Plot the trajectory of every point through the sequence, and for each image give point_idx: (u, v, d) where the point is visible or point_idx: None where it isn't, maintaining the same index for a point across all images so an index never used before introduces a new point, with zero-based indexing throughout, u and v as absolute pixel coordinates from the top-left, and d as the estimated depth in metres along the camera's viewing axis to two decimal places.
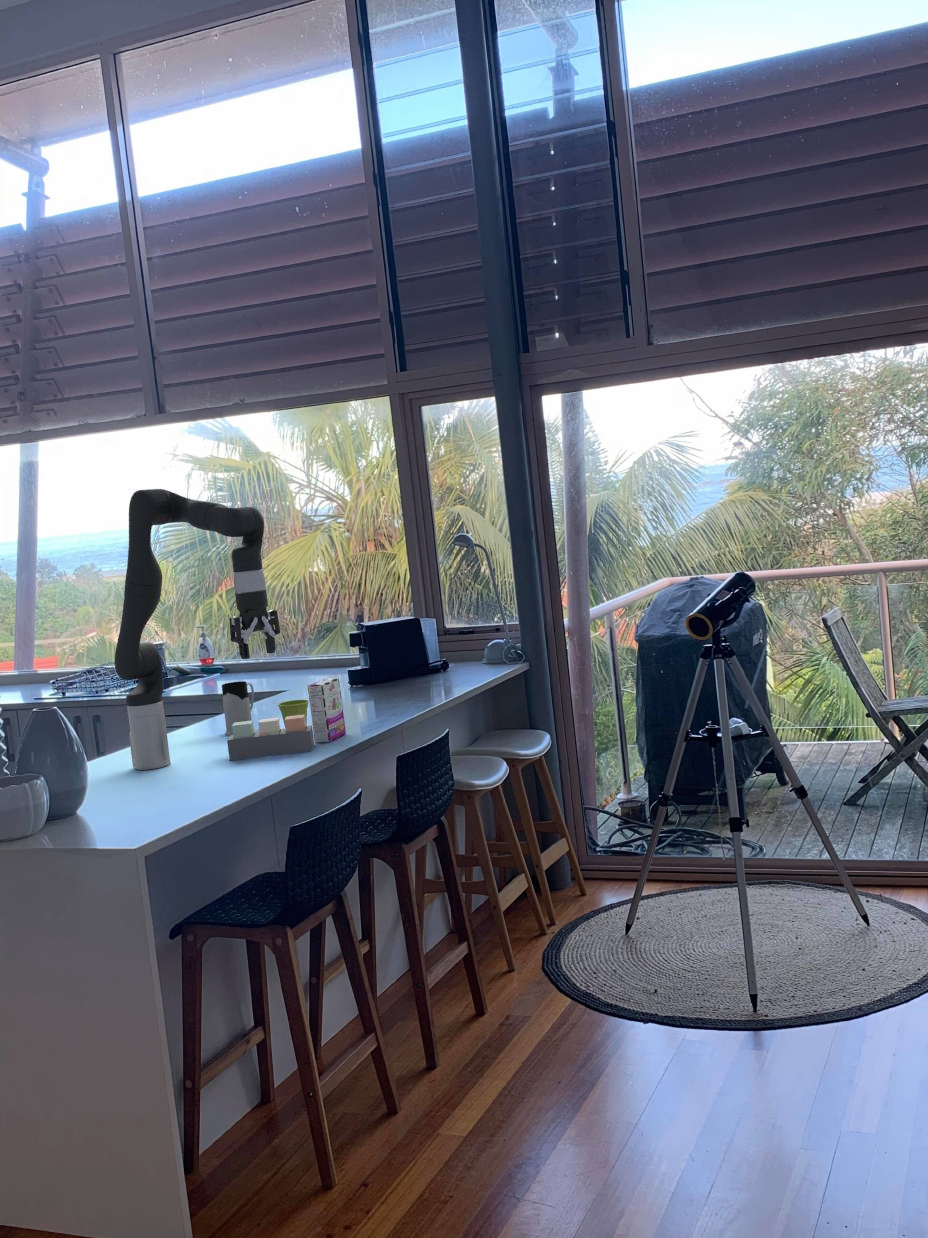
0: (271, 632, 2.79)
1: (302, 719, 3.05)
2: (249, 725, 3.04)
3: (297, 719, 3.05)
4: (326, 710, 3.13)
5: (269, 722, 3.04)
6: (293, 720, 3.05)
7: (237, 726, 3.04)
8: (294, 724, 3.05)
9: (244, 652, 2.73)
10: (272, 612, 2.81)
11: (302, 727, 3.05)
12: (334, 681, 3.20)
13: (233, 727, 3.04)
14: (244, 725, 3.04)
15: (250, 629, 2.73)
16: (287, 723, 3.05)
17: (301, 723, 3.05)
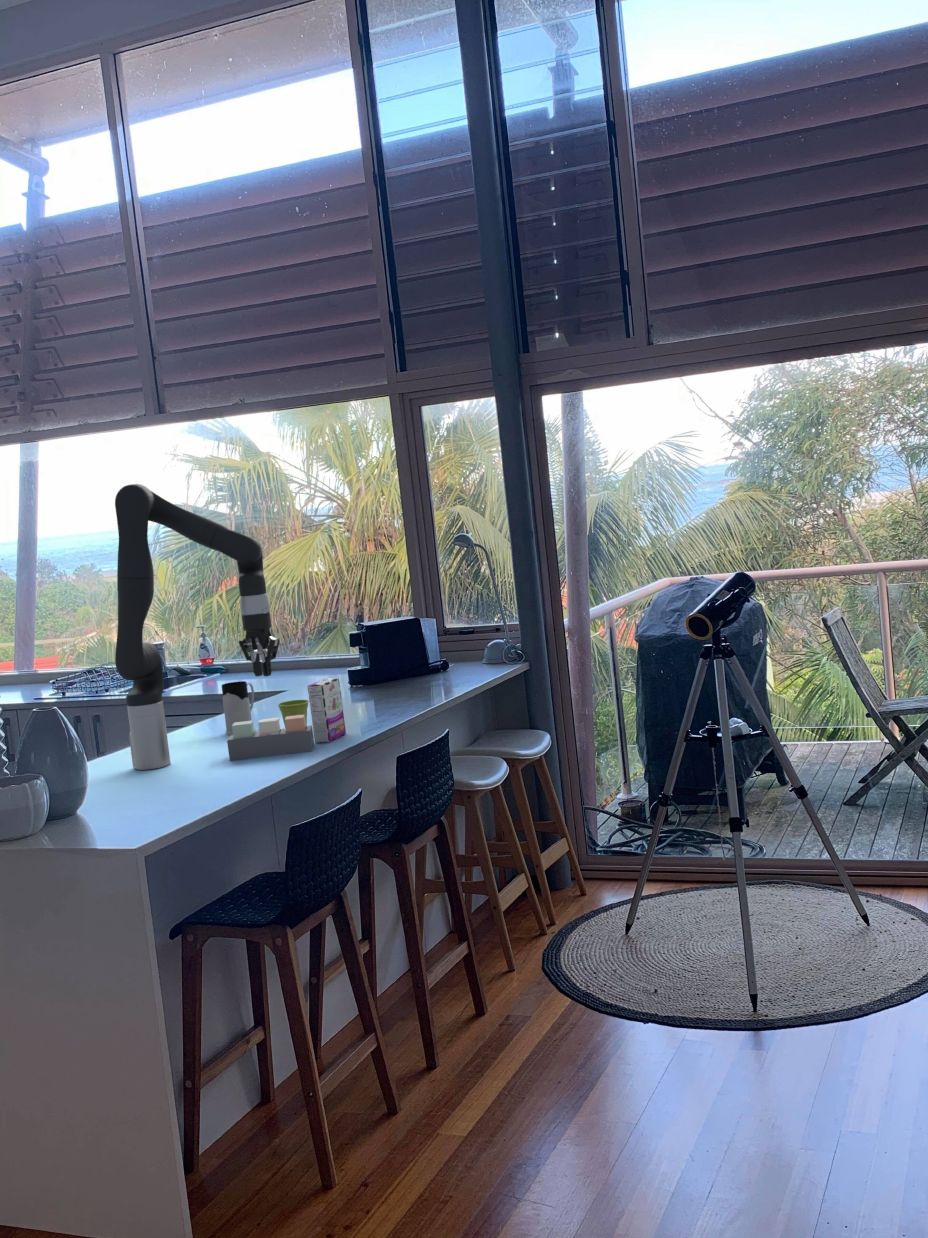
0: None
1: (302, 719, 3.05)
2: (249, 725, 3.04)
3: (297, 719, 3.05)
4: (326, 710, 3.13)
5: (269, 722, 3.04)
6: (293, 720, 3.05)
7: (237, 726, 3.04)
8: (294, 724, 3.05)
9: None
10: None
11: (302, 727, 3.05)
12: (334, 681, 3.20)
13: (233, 727, 3.04)
14: (244, 725, 3.04)
15: None
16: (287, 723, 3.05)
17: (301, 723, 3.05)
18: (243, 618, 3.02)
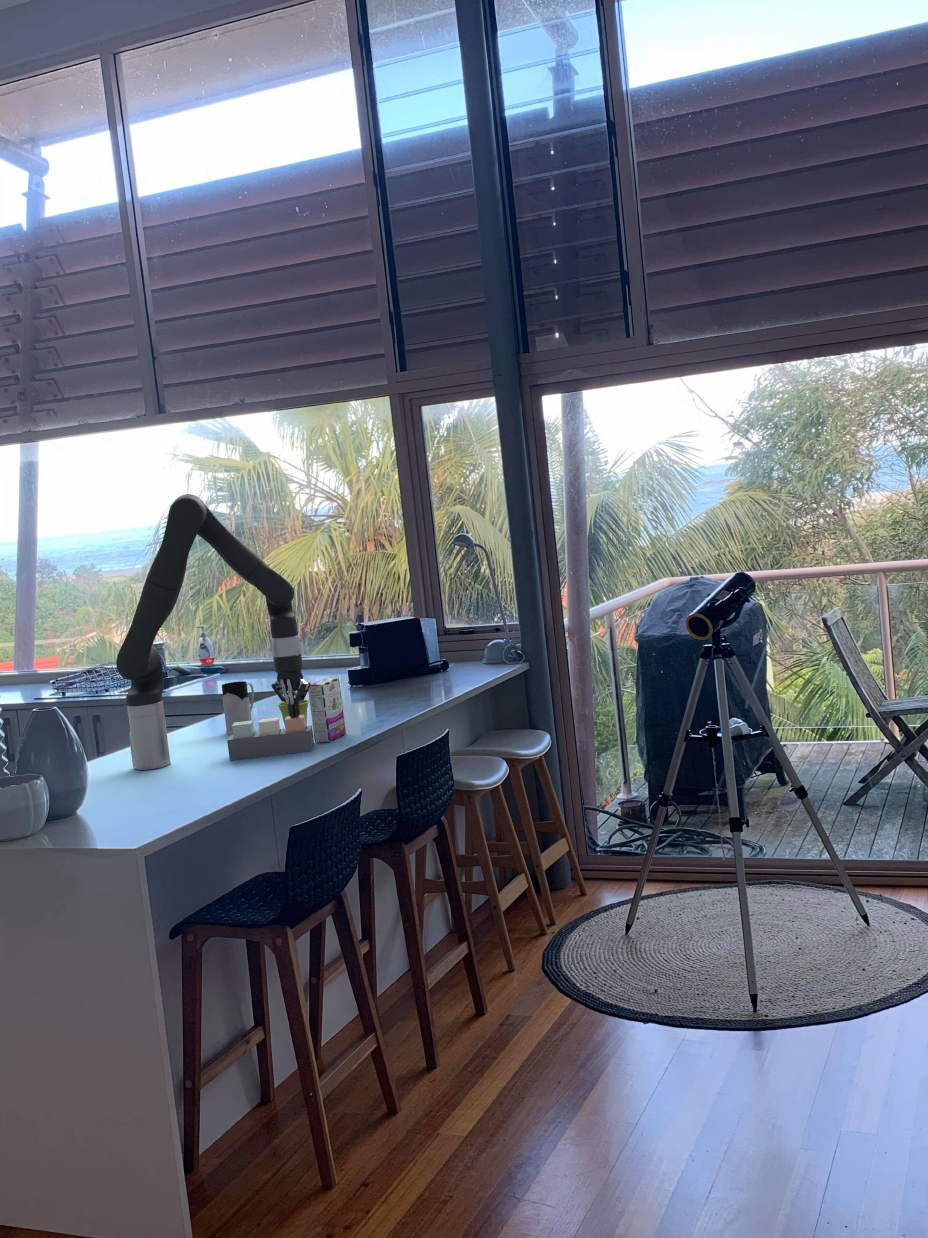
0: None
1: (302, 719, 3.05)
2: (249, 725, 3.04)
3: (297, 719, 3.05)
4: (326, 710, 3.13)
5: (269, 722, 3.04)
6: (293, 720, 3.05)
7: (237, 726, 3.04)
8: (294, 724, 3.05)
9: None
10: None
11: (302, 727, 3.05)
12: (334, 681, 3.20)
13: (233, 727, 3.04)
14: (244, 725, 3.04)
15: None
16: (287, 723, 3.05)
17: (301, 723, 3.05)
18: (275, 660, 3.04)
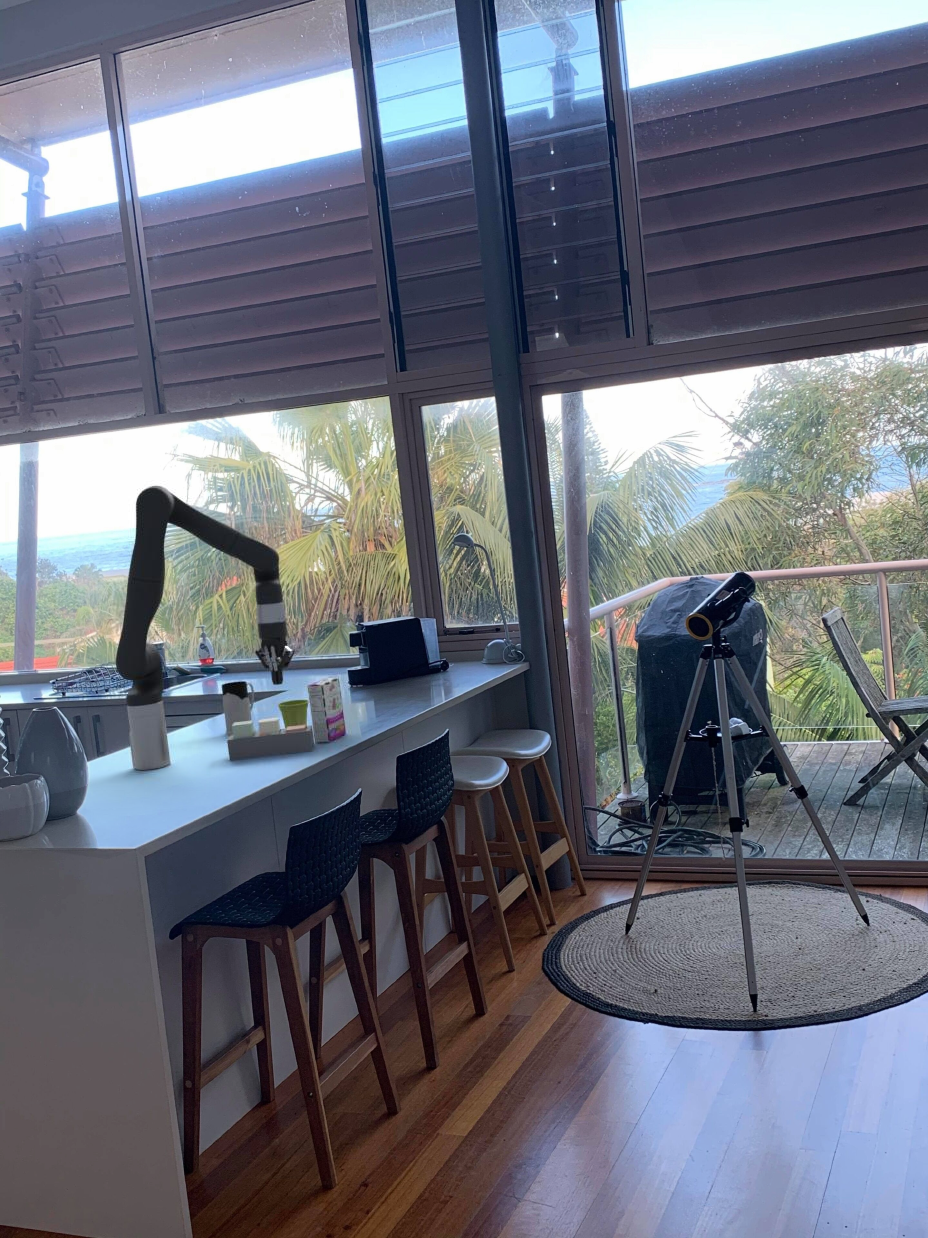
0: None
1: (303, 729, 3.05)
2: (249, 725, 3.04)
3: (298, 729, 3.05)
4: (326, 710, 3.13)
5: (269, 722, 3.04)
6: (294, 730, 3.05)
7: (237, 726, 3.04)
8: None
9: None
10: None
11: None
12: (334, 681, 3.20)
13: (233, 727, 3.04)
14: (244, 725, 3.04)
15: None
16: None
17: None
18: (259, 626, 3.03)
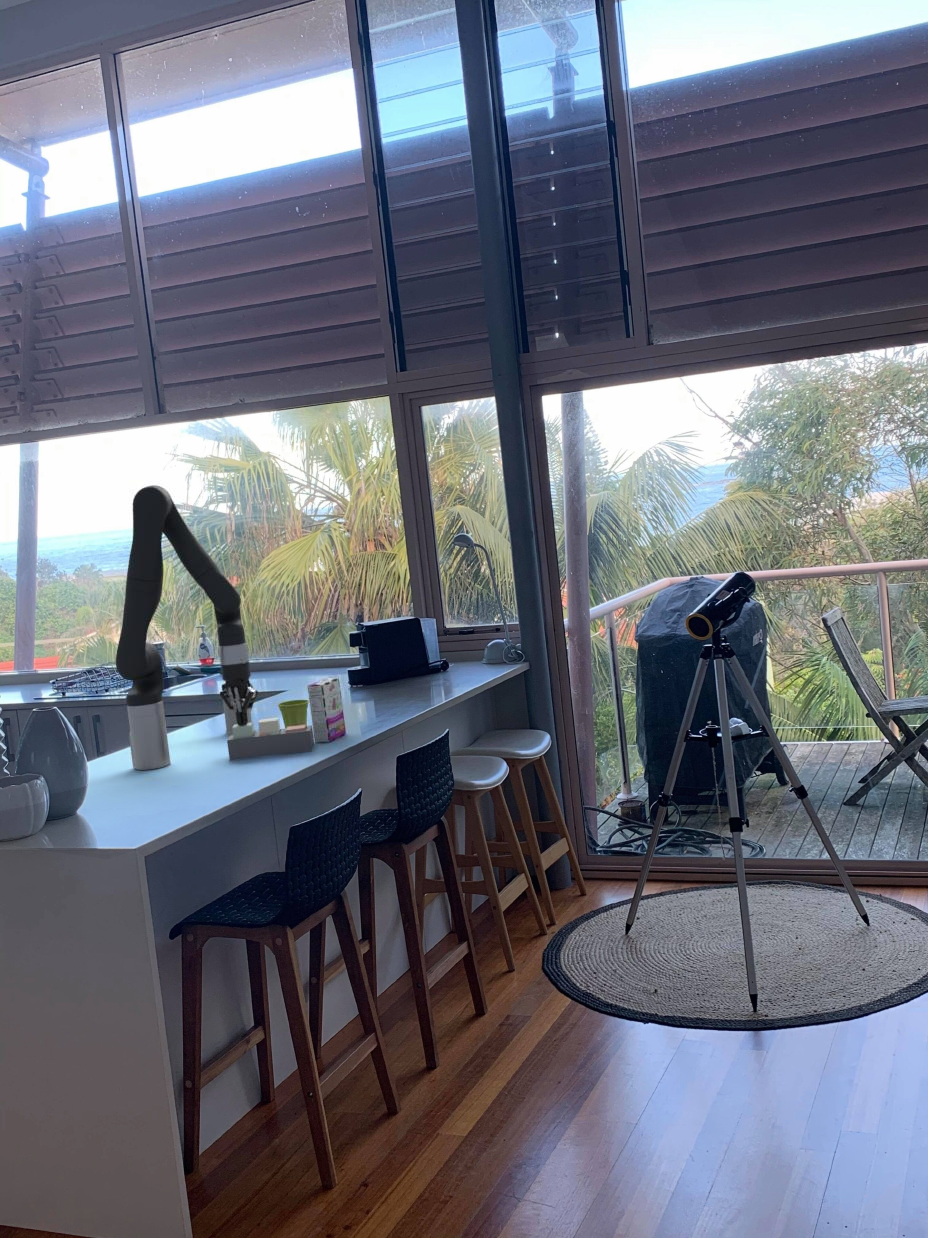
0: None
1: (303, 729, 3.05)
2: (249, 727, 3.04)
3: (298, 729, 3.05)
4: (326, 710, 3.13)
5: (269, 722, 3.04)
6: (294, 730, 3.05)
7: (237, 728, 3.04)
8: None
9: None
10: None
11: None
12: (334, 681, 3.20)
13: (233, 729, 3.04)
14: (244, 727, 3.04)
15: None
16: None
17: None
18: (222, 668, 3.03)
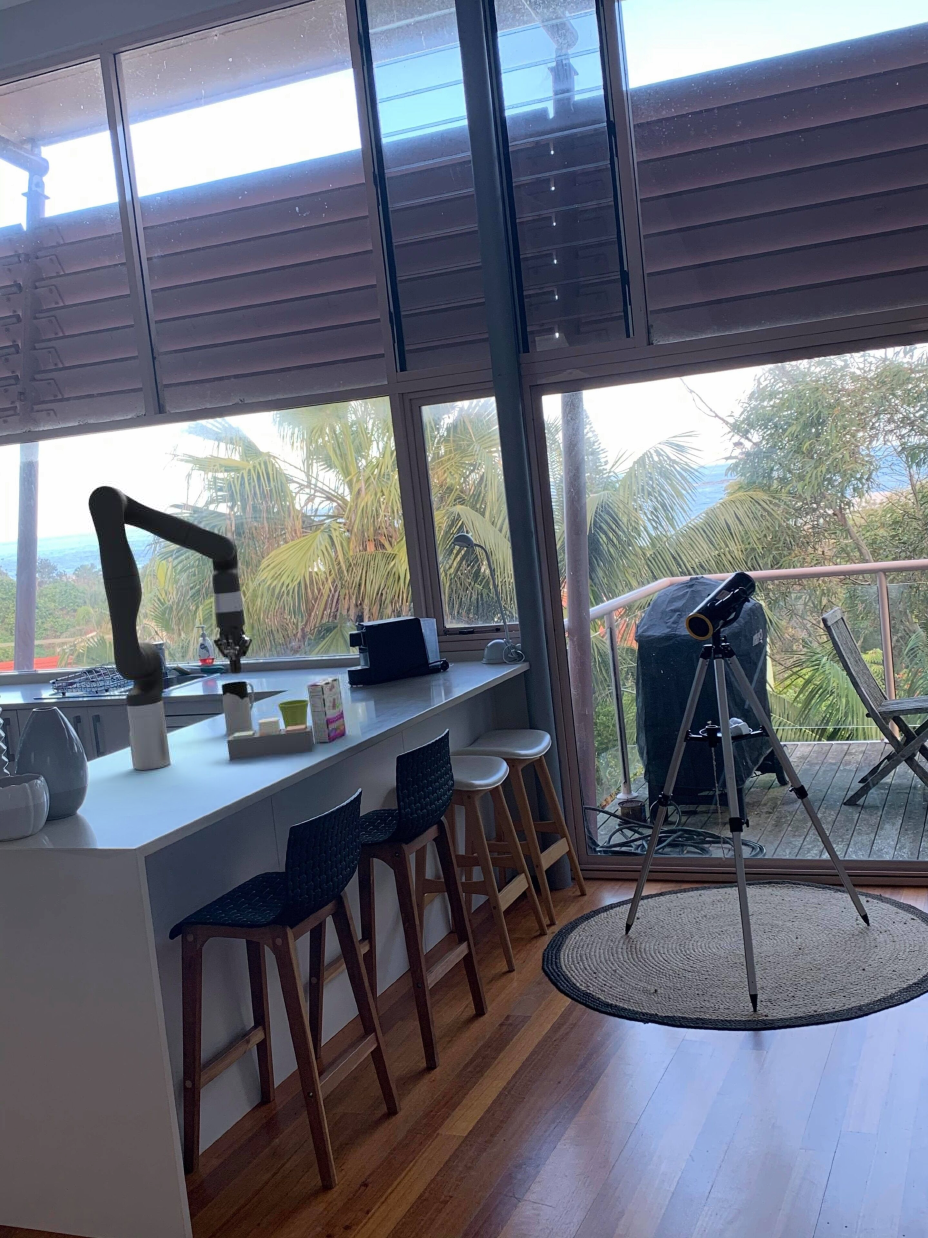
0: None
1: (303, 729, 3.05)
2: (250, 736, 3.04)
3: (298, 729, 3.05)
4: (326, 710, 3.13)
5: (269, 722, 3.04)
6: (294, 730, 3.05)
7: (238, 737, 3.04)
8: None
9: None
10: None
11: None
12: (334, 681, 3.20)
13: (234, 738, 3.04)
14: (245, 736, 3.04)
15: None
16: None
17: None
18: (216, 615, 3.04)
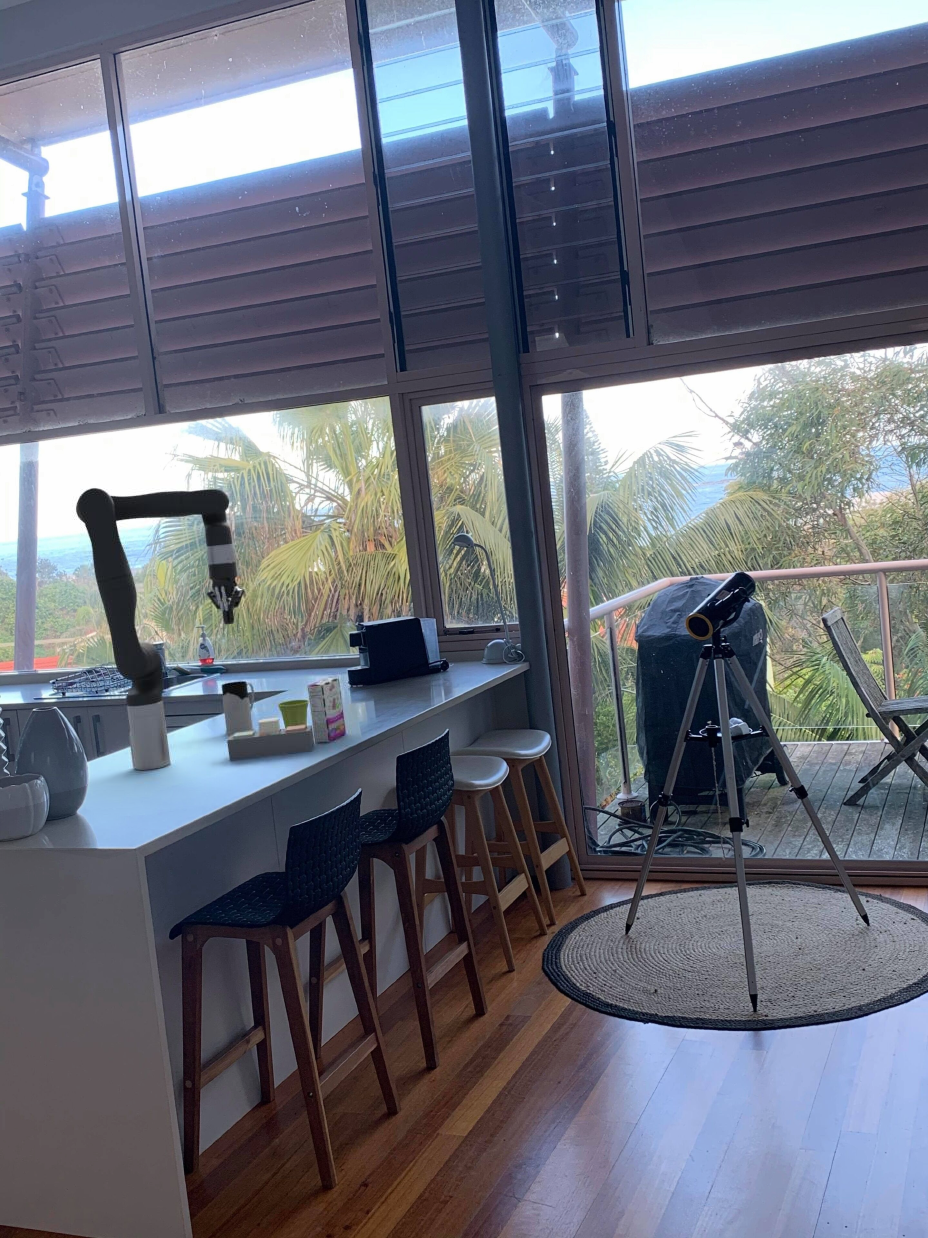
0: None
1: (303, 729, 3.05)
2: (250, 736, 3.04)
3: (298, 729, 3.05)
4: (326, 710, 3.13)
5: (269, 722, 3.04)
6: (294, 730, 3.05)
7: (238, 737, 3.04)
8: None
9: None
10: None
11: None
12: (334, 681, 3.20)
13: (234, 738, 3.04)
14: (245, 736, 3.04)
15: None
16: None
17: None
18: (209, 567, 3.13)
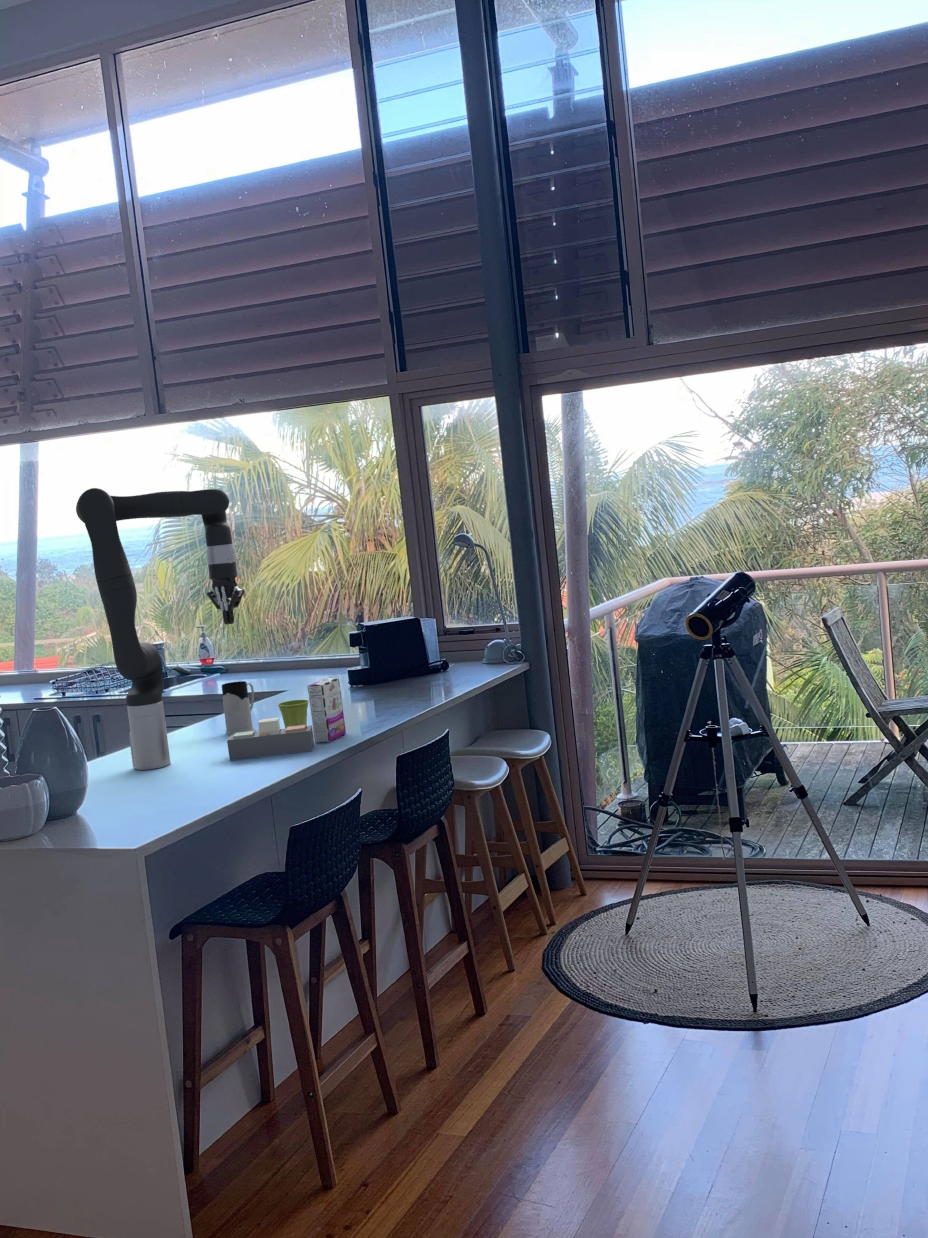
0: None
1: (303, 729, 3.05)
2: (250, 736, 3.04)
3: (298, 729, 3.05)
4: (326, 710, 3.13)
5: (269, 722, 3.04)
6: (294, 730, 3.05)
7: (238, 737, 3.04)
8: None
9: None
10: None
11: None
12: (334, 681, 3.20)
13: (234, 738, 3.04)
14: (245, 736, 3.04)
15: None
16: None
17: None
18: (209, 567, 3.13)
